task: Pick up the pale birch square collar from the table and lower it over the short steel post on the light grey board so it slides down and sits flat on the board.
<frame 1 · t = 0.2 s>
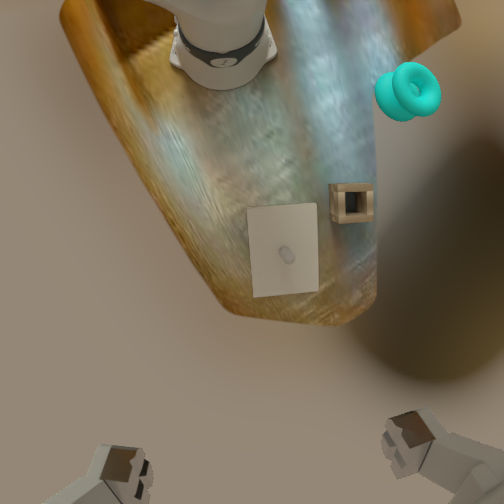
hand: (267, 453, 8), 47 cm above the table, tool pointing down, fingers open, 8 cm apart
post board: (283, 249, 56), on the table
donuts: (394, 98, 50), on the table
collar: (345, 200, 55), on the table
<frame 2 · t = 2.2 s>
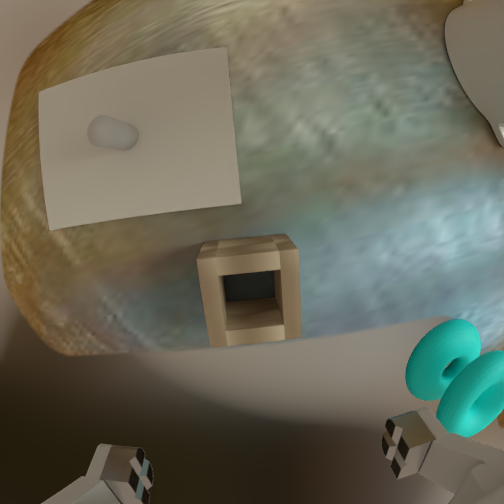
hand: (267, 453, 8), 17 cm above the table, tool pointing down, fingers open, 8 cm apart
post board: (131, 139, 22), on the table
donuts: (437, 354, 29), on the table
collar: (248, 276, 25), on the table
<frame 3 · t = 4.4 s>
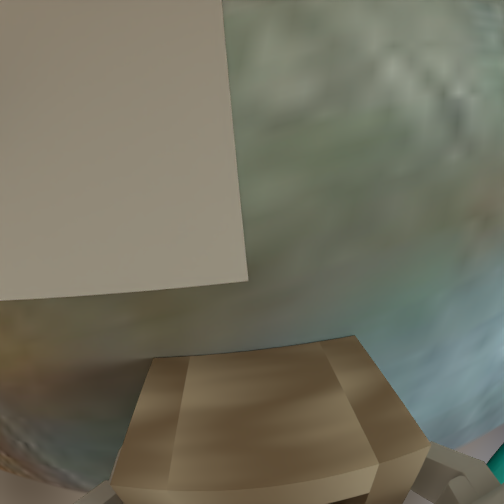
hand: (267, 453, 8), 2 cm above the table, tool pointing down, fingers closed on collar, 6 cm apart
collar: (262, 421, 10), on the table, touching gripper
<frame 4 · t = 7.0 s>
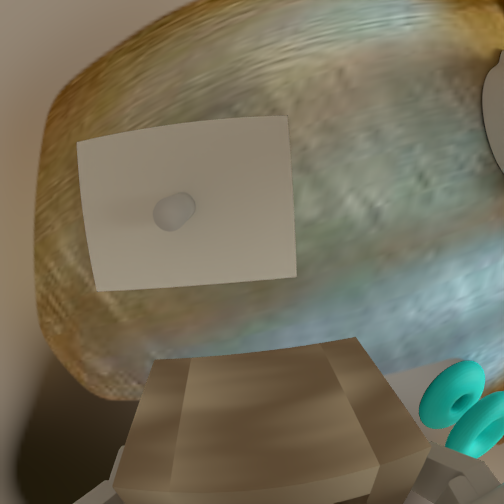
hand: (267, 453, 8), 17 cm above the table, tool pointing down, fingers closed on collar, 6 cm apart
post board: (184, 204, 23), on the table
donuts: (446, 388, 31), on the table
collar: (263, 423, 10), point 16 cm above the table, touching gripper
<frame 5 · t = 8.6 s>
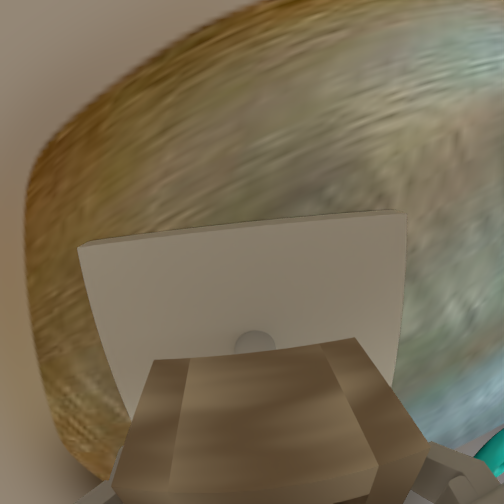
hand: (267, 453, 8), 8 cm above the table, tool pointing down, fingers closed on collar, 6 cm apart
post board: (253, 333, 17), on the table
donuts: (491, 447, 24), on the table
collar: (262, 423, 10), point 7 cm above the table, touching gripper
when the fingers open (5 cm above the table, at t = 9.9 s): collar drops 1 cm, resting on post board.
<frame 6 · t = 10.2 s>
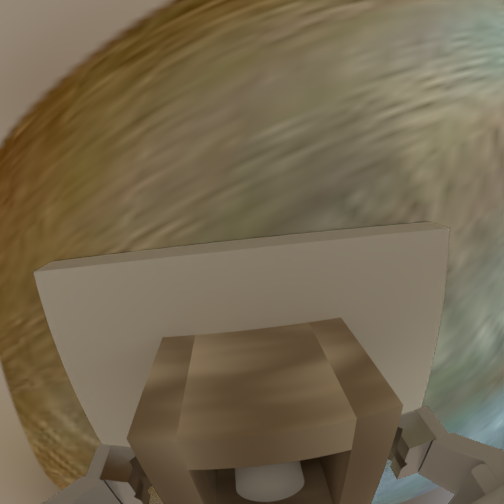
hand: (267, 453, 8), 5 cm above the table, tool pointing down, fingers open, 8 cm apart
post board: (255, 375, 13), on the table
collar: (259, 397, 12), point 1 cm above the table, touching post board
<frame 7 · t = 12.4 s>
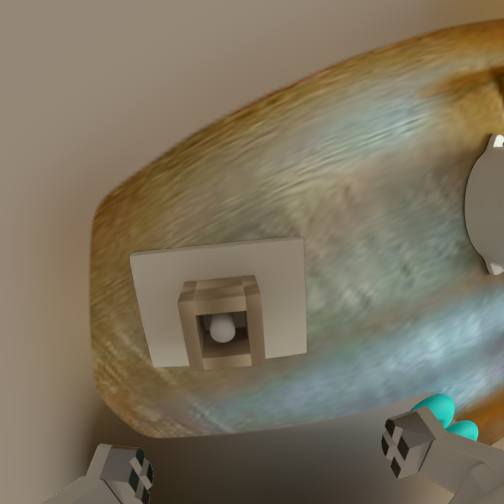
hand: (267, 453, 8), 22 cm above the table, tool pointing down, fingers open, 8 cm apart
post board: (222, 303, 31), on the table
donuts: (423, 415, 39), on the table
collar: (223, 310, 29), point 1 cm above the table, touching post board
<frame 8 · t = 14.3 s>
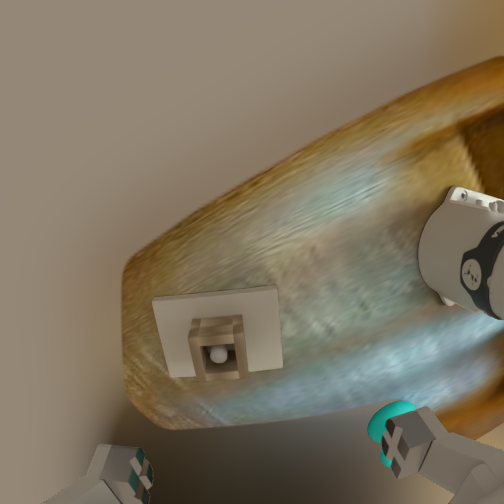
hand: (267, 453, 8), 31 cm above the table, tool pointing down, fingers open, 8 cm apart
post board: (220, 332, 41), on the table
donuts: (389, 416, 49), on the table
collar: (220, 338, 40), point 1 cm above the table, touching post board
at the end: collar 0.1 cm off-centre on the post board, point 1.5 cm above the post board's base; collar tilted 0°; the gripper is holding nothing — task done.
